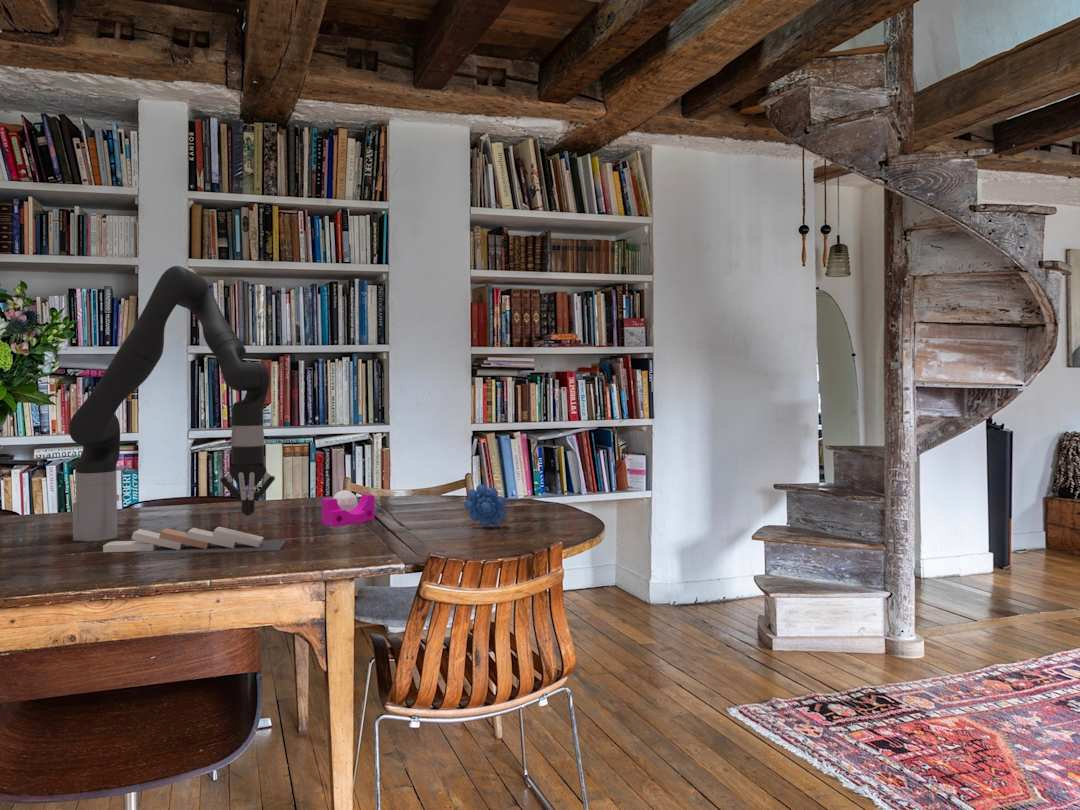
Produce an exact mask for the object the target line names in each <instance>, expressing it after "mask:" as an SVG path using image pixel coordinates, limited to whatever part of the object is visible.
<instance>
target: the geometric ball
mask: <svg viewBox="0 0 1080 810" xmlns="http://www.w3.org/2000/svg"><path fill="white" fill-rule="evenodd" d="M332 498H333V499H337V502H338V505H339V507H340V508H341V509H342V510H346V511H347V512H349V511H351V510H353V509H354V508H355V507H356V506H357V505H358V504H359V502H358V499H357V495H356V494H354V493H353V492H351V491H349V490H346V489H343V490H340V491H338V492H336V493H335V494H334V496H333V497H332Z"/></svg>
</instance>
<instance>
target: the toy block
mask: <svg viewBox="0 0 1080 810" xmlns="http://www.w3.org/2000/svg"><path fill="white" fill-rule="evenodd" d="M360 495H361V497H360V499H359V502H358V505H357V506H356V507H355V508H354V509H353V510H351V511H349V512H347V511H346V510H342V509H341V508H340V507H339V505H338V502H337V499H333V497H326V498H321V524H322V523H323V524H322V525H325V524H326V526H329V525H330V527H339V526H340V525H341V526H348V524H349V525H355V524H356V523H357V524H363V523H365V524H366V521H367V522H368V521H374V520H375V494H370V493H364V494H360Z"/></svg>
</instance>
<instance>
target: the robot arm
mask: <svg viewBox="0 0 1080 810" xmlns="http://www.w3.org/2000/svg"><path fill="white" fill-rule="evenodd" d="M218 304H219V303H218V302H217V301H216V298H215V296H214V293H213V291H212V289H211V288H210V285H209V284H208V281H206V279H205V278H204V277H203V276H201V275H200V274H198V273H197V272H193V271H191V270H189V269H187V268H185V267H183V266H181V265H173V266H170V267H169V268H168V269H166V270H165V271H164V272H163V273H162V274H161V276H160V278H159V279H158V281H157V283H156V285H155V286H154V288H153V291H152V293H151V294H150V296H149V298H148V300H147V303H146V305H145V307H144V308H143V310H142V312H141V314H140V316H139V317H138V318H137V321H136V322H135V324H134V326H133V327H132V329H131V331H129V332H130V333H128V335H127V336H126V337H125V340H124V341H123V343H122V344H121V345H120V347H119V349H118V350H117V352H116V354H115V355H114V357H113V359H112V360H111V362H110V364H109V365H108V367H107V368H106V370H105V371H104V373H103V374H102V376H101V378H100V379H99V382H97V384H96V385H95V388H94V389H93V391H91V393H90V394H89V396H88V397H87V398H86V399H85V400H84V402H83V403H82V404H81V405H80V407H79V408H78V409H77V410H76V411H75V413H74V414H73V416H72V417H71V419H70V421H69V424H68V425H69V426H68V433H69V436H70V438H71V440H72V441H73V442H75V443H76V444H77V445H80V446H82V453H81V455H80V457H79V458H78V459H77V460H76V462H75V466H74V467H75V468H74V471H75V502H73V503H72V541H73V542H75V541H78V542H99V541H100V542H101V541H107V540H112V539H116V538H117V537H118V497H117V496H118V495H117V493H118V491H117V490H118V489H117V488H118V486H117V484H118V483H117V479H118V478H117V464H118V462H119V459H120V454H121V453H120V452H121V450H120V449H121V447H120V446H121V425H120V420H119V418H118V417H117V415H116V412H117V410H118V409H119V407H120V406H121V405H122V403H123V402H124V400H126V399H127V398H128V397H129V396H130V395H131V394H132V393H133V392H135V391H136V390H137V388H139V387H140V386H141V385H142V384H143V383H144V382H145V381H146V380H147V379H148V377H150V375H151V374H152V372H153V371H154V369H155V367H156V366H157V364H158V363H159V362H160V360H161V358H162V356H163V352H164V347H165V346H164V345H165V330H166V329H165V327H166V324H167V321H168V319H169V317H170V316H171V314H172V312H173V310H174V309H175V308H176V306H180V307H182V308H185V309H187V310H189V312H191V313H192V314H193V315H194V316H195V317H196V318H197V319H198V321H199V323H200V324H201V327H202V335H203V338H204V340H205V343H206V345H207V347H208V348H209V350H210V351H211V352H212V354H213V355H214V356H215V358H216V360H217V361H218V365H219V368H220V371H221V374H222V378H223V381H224V383H225V384H226V385H227V387H229V388H230V389H232V390H234V391H236V392H237V391H238V392H246V393H245V395H244V398H243V399H242V400H239V401H235V402H234V403H233V404H232V408H231V410H232V411H231V413H232V417H231V418H232V419H231V423H232V424H231V425H232V426H231V433H230V434H231V439H230V444H231V457H230V458H231V459H230V460H231V466H230V469H229V473H227V474H226V475H225V476H223V477H221V478H220V482H221V484H222V485H223V486H224V487H225V488H226V490H228V492H229V493H230V494H231V495H232V497H233V498H235V499H239V500H241V512H242V514H244V516H246V517H247V516H252V515H253V514H254V513H255V512H256V507H255V506H256V499H259V498H260V497H263V495H264V494H265V493H266V491H267V490H268V489H269V487H270V486H271V485H272V484H273V482H274V481H275V480H276V476H275V475H271V474H270V473H268V472H267V468H266V465H265V433H264V426H263V425H264V405H265V402H266V398H267V395H268V392H269V387H270V381H271V378H270V377H271V376H270V371H269V369H268V367H267V366H266V365H265V364H264V363H262V362H257V361H243V360H244V359H245V357H246V354H247V352H246V351H247V350H246V348H245V346H244V344H243V342H242V341H241V340H240V339H239V337H238V335H237V334H236V333H235V331H234V330H233V328H232V327H231V325H230V324H229V323H228V321H227V319H226V318H225V316H224V314H223V312H222V311H221V309H220V306H219V305H218ZM262 479H263V482H264V483H263V484H262V486H261V487H260V489H259V490H258V491H257V485H259V484H260V482H261V481H262ZM233 480H234V481H235V483H236V484H237V485H238V486H239V490H238V489H237V487H236V486H235V485H234V484H233Z"/></svg>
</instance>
